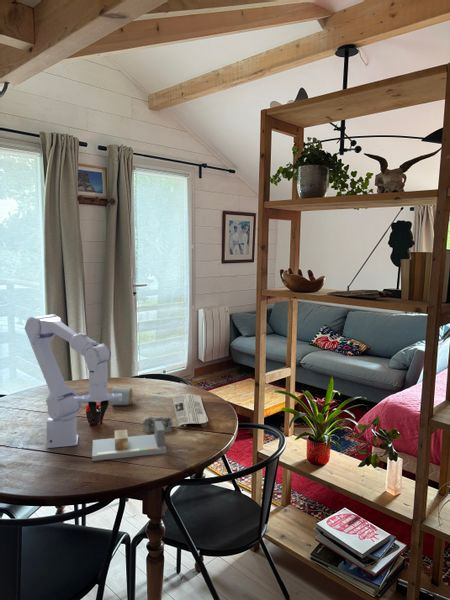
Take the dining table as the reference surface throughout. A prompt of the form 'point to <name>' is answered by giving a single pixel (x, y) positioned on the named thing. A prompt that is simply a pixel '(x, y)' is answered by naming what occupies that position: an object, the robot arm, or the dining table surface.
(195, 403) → the newspaper
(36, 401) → the dining table surface
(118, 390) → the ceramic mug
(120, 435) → the beige block with peg
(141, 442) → the gauge bed
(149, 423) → the egg carton
